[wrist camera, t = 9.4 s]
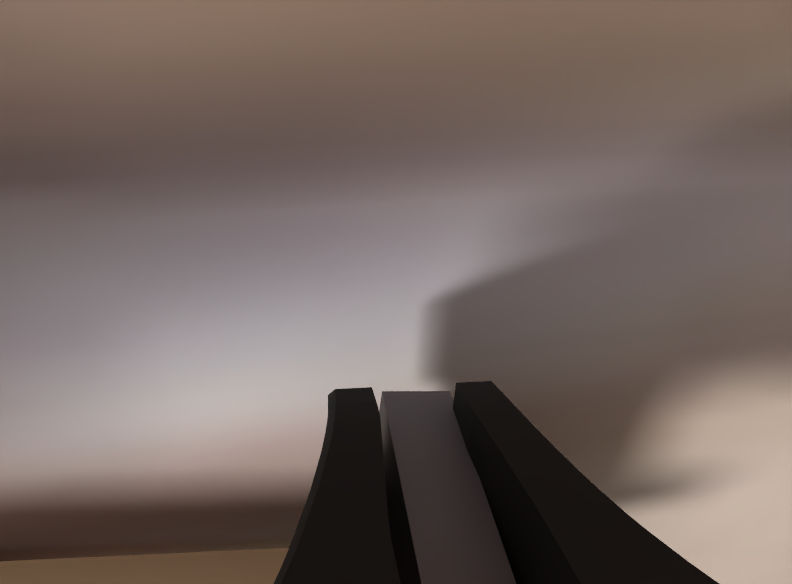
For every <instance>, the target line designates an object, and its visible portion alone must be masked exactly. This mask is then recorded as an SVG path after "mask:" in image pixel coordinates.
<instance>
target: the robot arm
mask: <svg viewBox="0 0 792 584" xmlns="http://www.w3.org/2000/svg"><path fill="white" fill-rule="evenodd" d="M453 410H454V413H455V416H456V419H457V422H458V425H459V428H460V431H461V434H462V437H463V440H464V443H465V446H466V448H467V451H468V454H469V456H470V458H471V460H472V462H473V464H474V467H475V469H476V471H477V473H478V475H479V478H480V480H481V483H482V486H483V489H484V492H485V495H486V498H487V500H488V503H489V506H490V509H491V512H492V515H493V518H494V521H495V524H496V526H497V529H498V532H499V535H500V538H501V541H502V544H503V547H504V549H505V552H506V555H507V558H508V561H509V564H510V567H511V570H512V573H513V575H514V578H515V581H516V584H719V583H717V582H716V581H714V580H713V579H712V578H710V577H709V576H707V575H706V574H705V573H703V572H702V571H700V570H699V569H698V568H696V567H695V566H693V565H692V564H691V563H689V562H688V561H686V560H685V559H684V558H683V557H681V556H680V555H679V554H677V553H676V552H675V551H673V550H672V549H671V548H669V547H668V546H667V545H666V544H664V543H663V542H662V541H660V540H659V539H658V538H656V537H655V536H654V535H652V534H651V533H650V532H649V531H647V530H646V529H645V528H644V527H642V526H641V525H640V524H639V523H637V522H636V521H635V520H634V519H632V518H631V517H630V516H629V515H628V514H626V513H625V512H624V511H623V510H622V509H621V508H620V507H618V506H617V505H616V504H615V503H614V502H613V501H612V500H610V499H609V498H608V497H607V496H606V495H605V494H604V493H602V492H601V491H600V490H599V489H598V488H597V487H596V486H595V485H593V484H592V483H591V482H590V481H589V480H588V479H587V478H586V477H585V476H584V475H583V474H582V473H581V472H580V471H579V470H578V469H577V468H575V467H574V466H573V465H572V464H571V463H570V462H569V461H568V460H567V459H566V458H565V457H564V456H563V455H562V454H561V453H560V452H559V451H558V450H557V449H556V448H555V447H554V446H553V445H552V444H551V443H550V442H549V441H548V440H547V439H546V438H545V437H544V436H543V435H542V434H541V433H540V432H539V431H538V430H537V429H536V428H535V427H534V426H533V425H532V424H531V422H530V421H529V420H528V419H527V418H526V417H525V416H524V415H523V414H522V413H521V412H520V411H519V410H518V409H517V408H516V407H515V406H514V405H513V404H512V402H511V401H510V400H509V399H508V398H507V397H506V396H505V395H504V394H503V393H502V392H501V391H500V390H499V389H498V388H497V387H496V386H495V385H494V384H493V383H492V382H491V381H485V382H466V383H456V389H455V396H454V404H453ZM274 584H401V583H400V579H399V574H398V569H397V565H396V560H395V555H394V551H393V546H392V541H391V534H390V527H389V519H388V509H387V496H386V483H385V470H384V457H383V444H382V432H381V420H380V414H379V410H378V406H377V403H376V399H375V396H374V393H373V390H372V387H370V388H351V389H335V390H334V391H333V392H331V393H330V394H329V395H328V420H327V427H326V433H325V438H324V442H323V447H322V451H321V455H320V459H319V462H318V466H317V469H316V473H315V476H314V480H313V484H312V487H311V490H310V493H309V496H308V499H307V502H306V504H305V507H304V510H303V513H302V515H301V518H300V521H299V524H298V526H297V529H296V532H295V535H294V537H293V540H292V542H291V545H290V547H289V550H288V552H287V554H286V557H285V559H284V561H283V564H282V566H281V568H280V571H279V573H278V575H277V577H276V580H275V582H274Z"/></svg>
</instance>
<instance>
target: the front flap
mask: <svg viewBox="0 0 792 584" xmlns="http://www.w3.org/2000/svg"><path fill="white" fill-rule="evenodd" d="M453 404H454V403H453V400H452V397H451V394H450V391H382V397H381V404H380V411H379V414H380V420H381V432H382V444H383V457H384V470H385V483H386V496H387V509H388V519H389V527H390V534H391V541H392V546H393V551H394V555H395V560H396V565H397V569H398V574H399V579H400V583H401V584H516V581H515V578H514V575H513V573H512V570H511V567H510V564H509V561H508V558H507V555H506V552H505V549H504V547H503V544H502V541H501V538H500V535H499V532H498V529H497V526H496V524H495V521H494V518H493V515H492V512H491V509H490V506H489V503H488V500H487V498H486V495H485V492H484V489H483V486H482V483H481V480H480V478H479V475H478V473H477V471H476V469H475V467H474V464H473V462H472V460H471V458H470V456H469V454H468V451H467V448H466V446H465V443H464V440H463V437H462V434H461V431H460V428H459V425H458V422H457V419H456V416H455V413H454V410H453ZM288 550H289V547H288V548H268V549H247V550H226V551H205V552H184V553H163V554H142V555H122V556H101V557H80V558H59V559H38V560H17V561H0V584H274V582H275V580H276V577H277V575H278V573H279V571H280V568H281V566H282V564H283V561H284V559H285V557H286V554H287V552H288Z"/></svg>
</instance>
